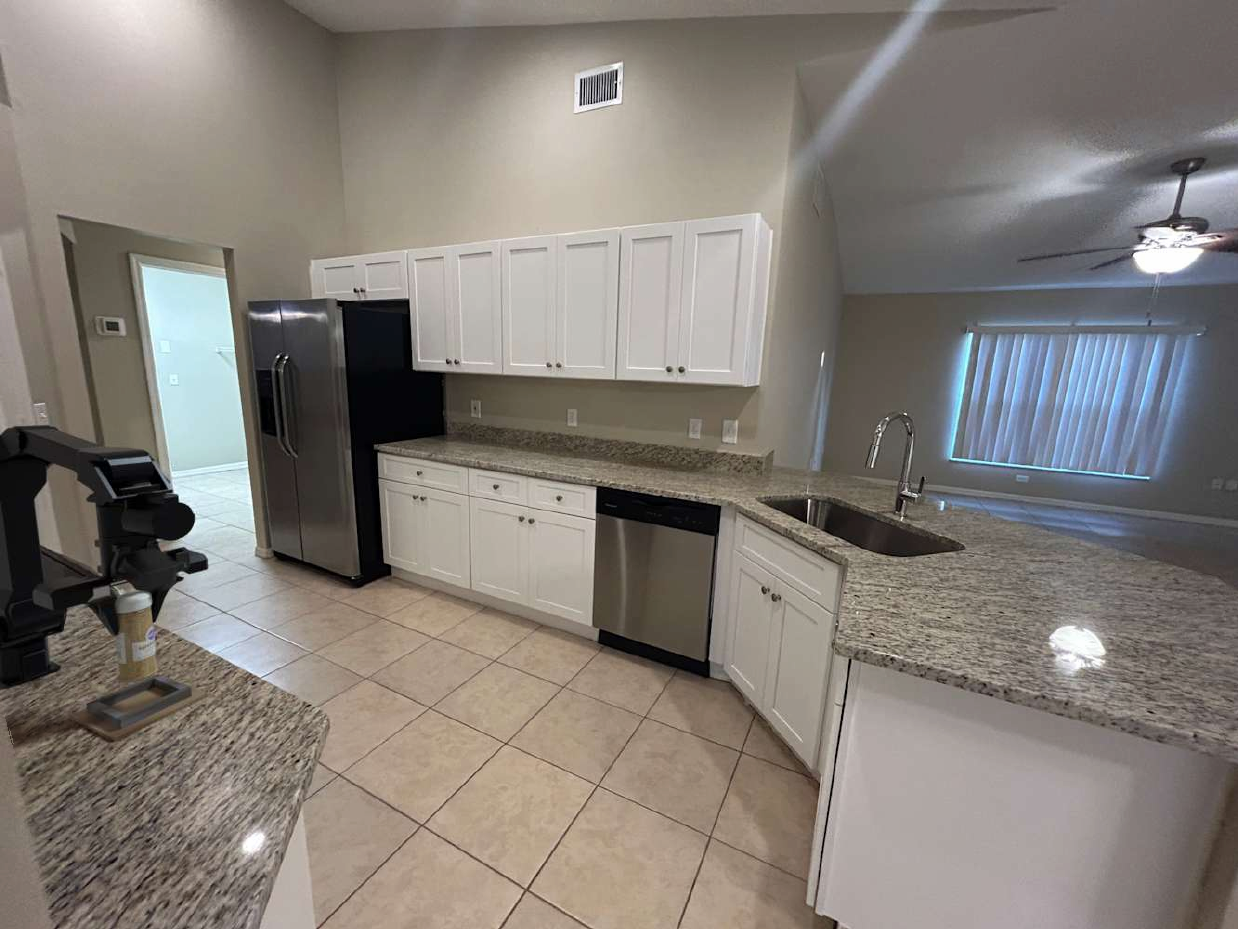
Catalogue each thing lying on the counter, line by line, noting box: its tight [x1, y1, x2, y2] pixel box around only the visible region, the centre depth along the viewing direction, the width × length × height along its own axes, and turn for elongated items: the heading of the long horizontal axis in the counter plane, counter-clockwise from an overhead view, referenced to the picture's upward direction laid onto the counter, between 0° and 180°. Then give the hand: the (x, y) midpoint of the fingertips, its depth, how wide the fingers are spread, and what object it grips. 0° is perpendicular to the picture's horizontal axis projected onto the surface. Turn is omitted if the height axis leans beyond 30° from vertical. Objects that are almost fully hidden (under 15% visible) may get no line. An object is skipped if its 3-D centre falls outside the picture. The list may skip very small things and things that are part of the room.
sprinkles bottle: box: [114, 590, 159, 684], centre depth 77 cm, size 5×5×14 cm
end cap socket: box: [68, 673, 209, 743], centre depth 79 cm, size 12×12×2 cm
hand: (134, 628), depth 77 cm, fingers closed on sprinkles bottle, 4 cm apart
